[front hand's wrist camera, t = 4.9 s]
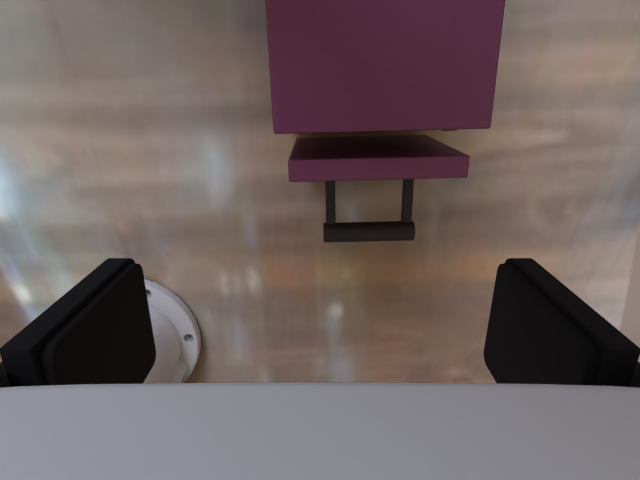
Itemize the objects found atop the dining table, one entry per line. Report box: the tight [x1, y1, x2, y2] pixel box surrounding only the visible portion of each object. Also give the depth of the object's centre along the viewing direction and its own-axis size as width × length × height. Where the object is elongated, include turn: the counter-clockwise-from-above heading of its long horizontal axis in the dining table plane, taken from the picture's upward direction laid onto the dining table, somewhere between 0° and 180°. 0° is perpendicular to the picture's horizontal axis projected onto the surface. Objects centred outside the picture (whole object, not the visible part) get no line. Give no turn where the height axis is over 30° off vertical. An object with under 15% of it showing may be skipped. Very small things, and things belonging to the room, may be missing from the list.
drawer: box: [288, 129, 469, 242], centre depth 26 cm, size 21×10×10 cm, turn 1°
